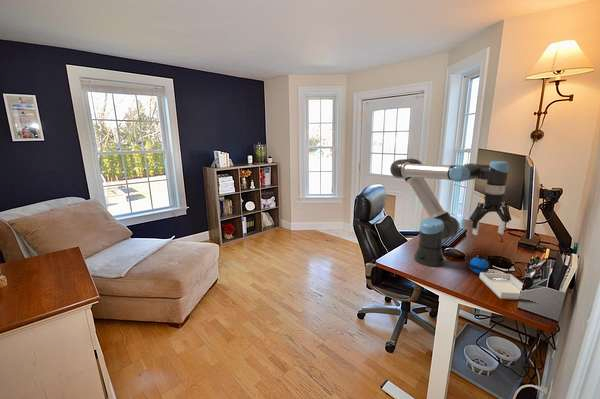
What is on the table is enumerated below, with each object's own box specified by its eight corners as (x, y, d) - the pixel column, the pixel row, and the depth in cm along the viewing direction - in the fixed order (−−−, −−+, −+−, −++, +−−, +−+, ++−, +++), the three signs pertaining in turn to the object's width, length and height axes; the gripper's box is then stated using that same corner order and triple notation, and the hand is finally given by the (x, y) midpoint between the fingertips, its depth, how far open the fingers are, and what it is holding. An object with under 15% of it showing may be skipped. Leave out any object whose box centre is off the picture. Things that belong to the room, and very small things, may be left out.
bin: (500, 298, 112) (501, 292, 112) (479, 277, 129) (480, 272, 129) (535, 301, 110) (537, 294, 110) (509, 279, 127) (510, 274, 127)
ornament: (476, 268, 140) (478, 250, 137) (492, 275, 132) (495, 257, 129) (464, 270, 137) (466, 252, 135) (479, 278, 129) (482, 259, 127)
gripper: (475, 195, 124) (469, 237, 129) (525, 194, 126) (517, 235, 131) (465, 192, 132) (459, 231, 137) (512, 191, 133) (505, 230, 138)
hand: (487, 234), depth 134 cm, fingers open, 13 cm apart
